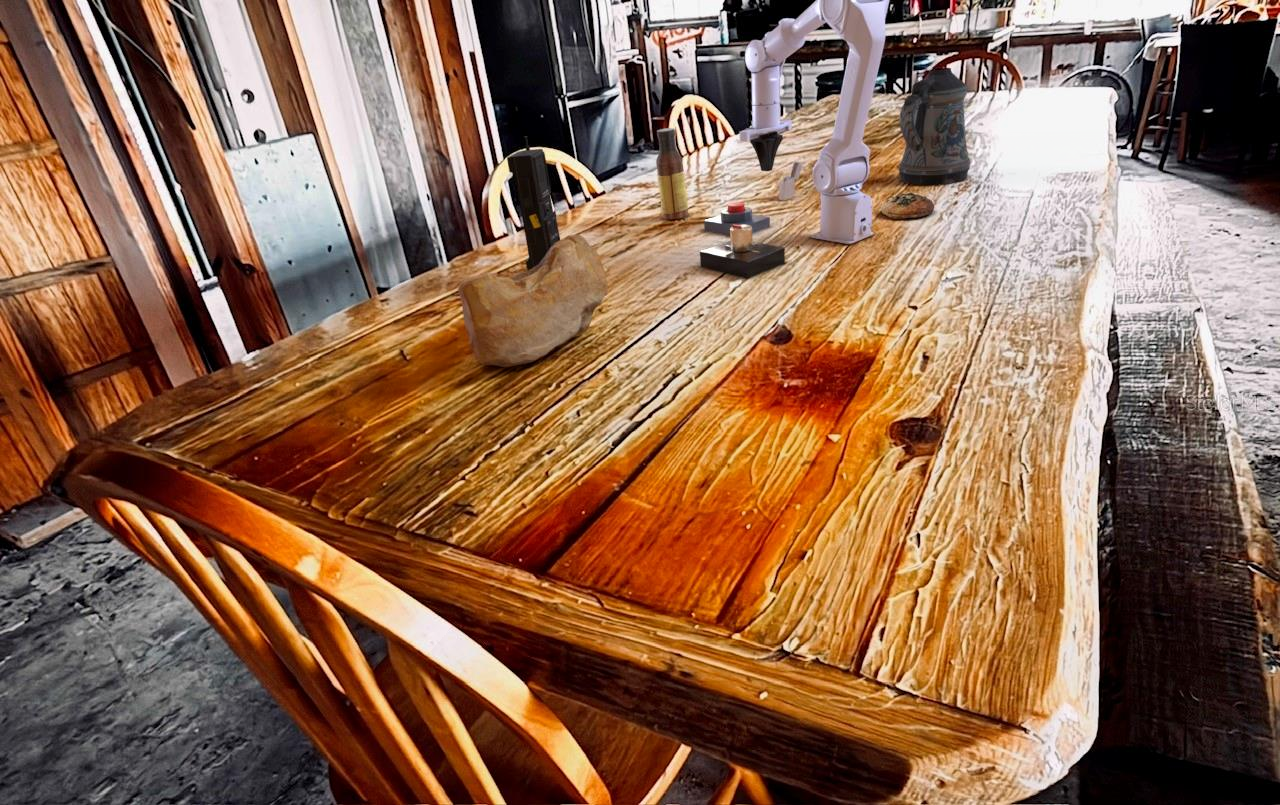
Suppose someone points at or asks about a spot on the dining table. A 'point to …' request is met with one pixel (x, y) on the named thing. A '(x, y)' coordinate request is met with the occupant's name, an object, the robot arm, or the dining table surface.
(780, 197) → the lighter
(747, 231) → the dial
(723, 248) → the dial panel
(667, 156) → the sauce bottle
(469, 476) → the dining table surface
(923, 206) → the bread roll
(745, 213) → the button box
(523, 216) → the portable radio
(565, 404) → the dining table surface
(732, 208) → the power button
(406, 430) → the dining table surface
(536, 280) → the rough brown rock
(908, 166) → the beer stein
